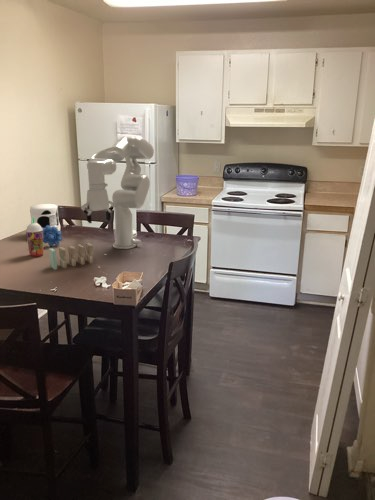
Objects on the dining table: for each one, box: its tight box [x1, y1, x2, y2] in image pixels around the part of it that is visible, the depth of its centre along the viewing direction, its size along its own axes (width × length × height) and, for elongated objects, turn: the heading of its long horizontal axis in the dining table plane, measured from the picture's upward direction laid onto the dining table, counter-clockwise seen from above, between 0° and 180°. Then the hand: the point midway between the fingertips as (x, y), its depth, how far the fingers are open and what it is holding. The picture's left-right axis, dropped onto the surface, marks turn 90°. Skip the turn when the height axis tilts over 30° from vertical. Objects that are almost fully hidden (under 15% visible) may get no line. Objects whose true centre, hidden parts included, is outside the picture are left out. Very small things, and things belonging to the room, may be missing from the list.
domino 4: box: [76, 243, 85, 266], centre depth 213 cm, size 2×5×9 cm, turn 34°
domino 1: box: [48, 247, 58, 270], centre depth 206 cm, size 2×5×9 cm, turn 34°
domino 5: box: [85, 242, 94, 264], centre depth 215 cm, size 2×5×9 cm, turn 34°
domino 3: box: [67, 245, 77, 267], centre depth 211 cm, size 2×5×9 cm, turn 34°
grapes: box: [42, 225, 63, 247], centre depth 239 cm, size 12×7×12 cm, turn 107°
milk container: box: [29, 203, 61, 232], centre depth 261 cm, size 17×17×18 cm
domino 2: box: [58, 246, 67, 269], centre depth 208 cm, size 2×5×9 cm, turn 33°
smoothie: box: [25, 217, 44, 258], centre depth 223 cm, size 8×8×20 cm
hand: (99, 221), depth 214 cm, fingers open, 9 cm apart
